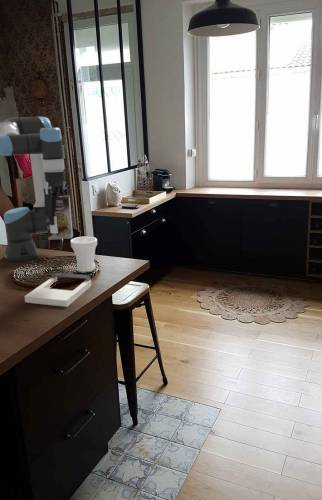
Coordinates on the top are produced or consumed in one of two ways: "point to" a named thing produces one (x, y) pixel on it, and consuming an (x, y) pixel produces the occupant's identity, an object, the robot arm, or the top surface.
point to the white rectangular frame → (55, 294)
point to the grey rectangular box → (62, 219)
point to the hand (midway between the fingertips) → (60, 230)
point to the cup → (84, 252)
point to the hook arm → (71, 275)
